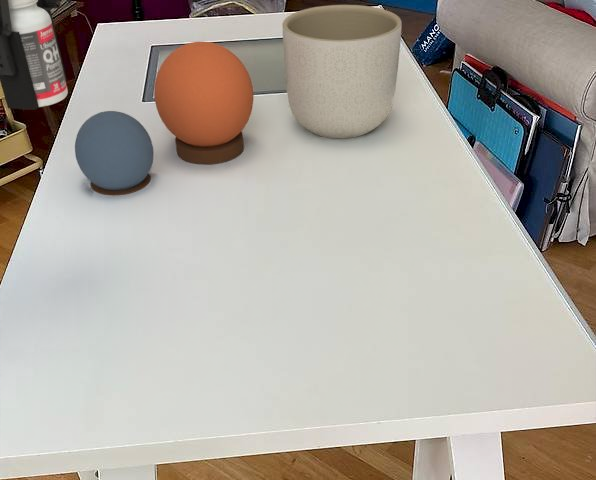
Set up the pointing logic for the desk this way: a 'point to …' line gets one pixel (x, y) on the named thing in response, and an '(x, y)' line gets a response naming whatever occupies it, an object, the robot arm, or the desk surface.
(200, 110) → the terracotta ball
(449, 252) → the desk surface
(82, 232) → the desk surface
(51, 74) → the pill bottle
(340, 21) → the planter
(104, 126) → the slate ball
